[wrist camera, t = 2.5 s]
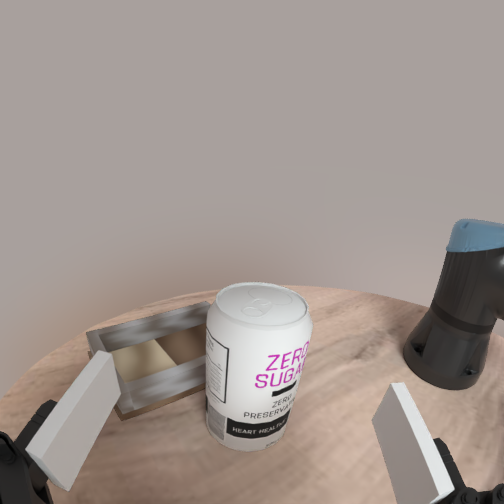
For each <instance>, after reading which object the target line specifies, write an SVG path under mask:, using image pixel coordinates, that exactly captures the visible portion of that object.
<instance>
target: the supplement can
mask: <svg viewBox="0 0 504 504" xmlns="http://www.w3.org/2000/svg"><path fill="white" fill-rule="evenodd" d="M308 308H309V306H308V304H307V302H306V300H305V299H304V298H303V297H302V296H300V295H299V294H298V293H297V292H294V291H292V290H290V289H288V288H286V287H282V286H279V285H275V284H270V283H262V282H243V283H237V284H232V285H230V286H228V287H225V288H223V289H222V290H221V291H220V292H219V293H218V294H217V295H216V300H215V301H214V303H213V304H212V305H211V307H210V308H209V310H208V314H207V324H206V425H207V427H208V430H209V432H210V434H211V435H212V436H213V437H214V438H215V439H216V440H217V441H218V442H219V443H220V444H222V445H224V446H226V447H229V448H231V449H233V450H238V451H245V452H252V451H259V450H264V449H266V448H268V447H270V446H272V445H274V444H276V443H277V442H278V441H279V439H280V438H281V437H282V436H283V435H284V432H285V429H286V425H287V422H288V419H289V416H290V412H291V409H292V406H293V402H294V399H295V395H296V392H297V388H298V384H299V381H300V377H301V373H302V370H303V366H304V362H305V358H306V354H307V350H308V346H309V342H310V338H311V333H312V328H313V323H312V320H311V317H310V314H309V311H308Z"/></svg>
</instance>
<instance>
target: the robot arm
mask: <svg viewBox="0 0 504 504" xmlns="http://www.w3.org/2000/svg"><path fill="white" fill-rule="evenodd" d="M446 250H447V254H446V257H445V261H444V265H443V269H442V272H441V275H440V279H439V282H438V285H437V288H436V291H435V294H434V298H433V301H432V303H431V306H430V309H429V310H428V312H427V313H426V314H425V316H424V317H423V318H422V319H421V321H420V322H419V323H418V325H417V326H416V327H415V328H414V330H413V331H412V332H411V334H410V335H409V337H408V339H407V342H406V344H405V347H404V357H405V360H406V362H407V364H408V365H409V367H410V368H411V369H412V370H413V371H414V372H415V373H416V374H417V375H418V376H419V377H421V378H422V379H424V380H425V381H427V382H429V383H431V384H433V385H435V386H438V387H441V388H444V389H450V390H462V389H467V388H469V387H471V386H473V385H474V384H475V383H476V382H477V380H478V378H479V377H480V375H481V373H482V371H483V369H484V366H485V361H486V356H487V351H488V345H489V340H490V334H491V332H492V329H493V327H494V325H495V322H496V320H497V318H499V319H502V320H504V224H500V223H494V222H489V221H483V220H475V219H461V220H459V221H457V222H456V224H455V225H454V227H453V230H452V233H451V237H450V241H449V244H448V246H447V247H446ZM120 395H121V392H120V388H119V384H118V380H117V375H116V371H115V366H114V361H113V356H112V354H111V353H107V352H104V351H100V350H98V351H97V353H96V354H95V355H94V356H93V358H92V359H91V360H90V361H89V363H88V364H87V365H86V366H85V368H84V369H83V370H82V372H81V373H80V374H79V376H78V377H77V378H76V379H75V381H74V382H73V383H72V385H71V386H70V387H69V389H68V390H67V391H66V393H65V394H64V395H63V397H62V398H61V399H60V401H59V402H55V401H53V400H51V399H50V400H49V401H47V402H45V403H44V404H42V405H41V406H40V408H39V409H38V410H37V412H36V414H34V416H33V417H32V418H31V421H29V422H28V424H27V425H26V426H25V428H24V429H23V430H22V432H21V433H20V435H19V436H18V437H17V439H16V440H15V441H14V442H13V441H12V440H11V438H10V437H9V436H8V435H7V434H6V433H4V432H1V431H0V504H54V503H53V500H52V497H51V494H50V491H49V488H48V485H47V483H46V482H47V480H48V478H49V479H50V480H51V482H52V483H53V484H54V485H56V486H58V487H60V488H62V489H64V490H66V491H68V492H69V491H70V489H71V487H72V485H73V483H74V481H75V479H76V477H77V475H78V473H79V471H80V469H81V467H82V465H83V463H84V461H85V459H86V457H87V455H88V454H89V452H90V450H91V448H92V446H93V444H94V442H95V440H96V438H97V437H98V435H99V433H100V431H101V429H102V427H103V425H104V424H105V422H106V420H107V418H108V416H109V414H110V413H111V411H112V409H113V407H114V405H115V404H116V402H117V400H118V398H119V397H120ZM372 423H373V426H374V429H375V432H376V435H377V438H378V441H379V444H380V447H381V450H382V453H383V457H384V460H385V463H386V466H387V469H388V473H389V476H390V479H391V483H392V486H393V490H394V493H395V497H396V500H397V504H504V484H503V483H502V484H499V485H497V486H496V487H495V488H494V489H493V490H491V491H483V492H477V491H476V490H475V489H473V488H470V487H466V486H465V484H464V482H463V480H462V477H461V475H460V473H459V471H458V468H457V466H456V464H455V462H453V458H452V456H451V455H450V451H449V449H448V447H447V445H446V444H445V443H444V442H443V441H442V440H441V439H440V438H436V439H432V437H431V435H430V433H429V431H428V429H427V427H426V425H425V422H424V420H423V418H422V416H421V414H420V412H419V410H418V409H417V407H416V405H415V403H414V401H413V399H412V397H411V395H410V393H409V391H408V389H407V387H406V386H405V384H404V382H402V383H391V384H390V386H389V388H388V390H387V392H386V394H385V396H384V398H383V400H382V402H381V404H380V405H379V407H378V409H377V411H376V413H375V415H374V416H373V418H372Z"/></svg>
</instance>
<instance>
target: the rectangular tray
mask: <svg viewBox="0 0 504 504" xmlns="http://www.w3.org/2000/svg"><path fill="white" fill-rule="evenodd" d="M209 308H210V304H209V303H208V302H206V301H205V302H201V303H198V304H194V305H190V306H187V307H183V308H179V309H176V310H172V311H168V312H165V313H161V314H157V315H153V316H149V317H146V318H142V319H138V320H134V321H130V322H126V323H122V324H118V325H114V326H110V327H106V328H102V329H98V330H94V331H89V332H86V335H87V339H88V343H89V347H90V351H88V355H89V358H90V360H91V359H92V358H93V356H94V355H95V354H96V353H97V351H98V350H100V351H104V352H107V353H111V354H112V356H113V361H114V366H115V371H116V375H117V380H118V384H119V388H120V392H121V395H120V397H119V398H118V400H117V402H116V404H115V405H114V409H115V411H116V413H117V414H118V416H119V418H120V420H121V421H123V420H126V419H129V418H131V417H134V416H137V415H140V414H143V413H145V412H148V411H151V410H153V409H156V408H159V407H161V406H164V405H166V404H169V403H171V402H174V401H176V400H179V399H181V398H184V397H186V396H188V395H191V394H193V393H195V392H198V391H200V390H202V389H205V388H206V324H207V314H208V310H209Z"/></svg>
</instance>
